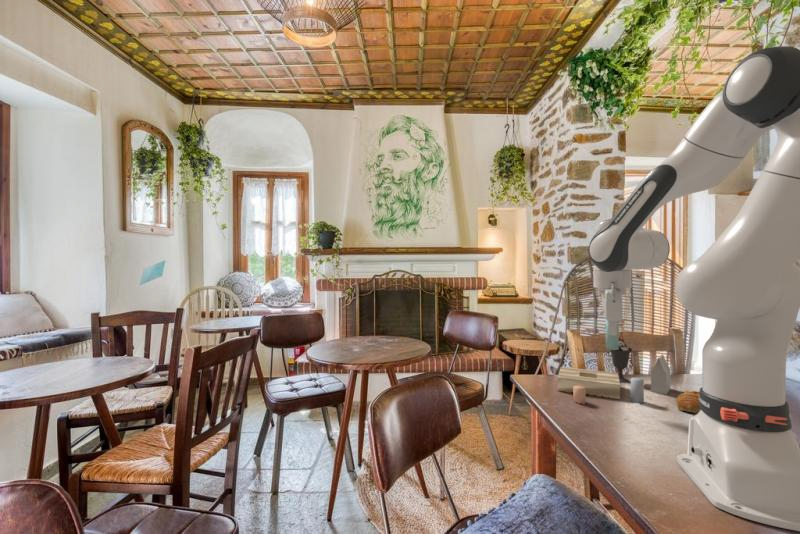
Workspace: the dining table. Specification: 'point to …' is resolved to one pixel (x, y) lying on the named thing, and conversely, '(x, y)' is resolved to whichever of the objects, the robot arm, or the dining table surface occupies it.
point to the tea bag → (660, 376)
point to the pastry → (689, 401)
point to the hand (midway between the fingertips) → (612, 333)
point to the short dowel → (579, 394)
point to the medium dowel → (637, 390)
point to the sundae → (621, 358)
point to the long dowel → (612, 338)
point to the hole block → (590, 382)
